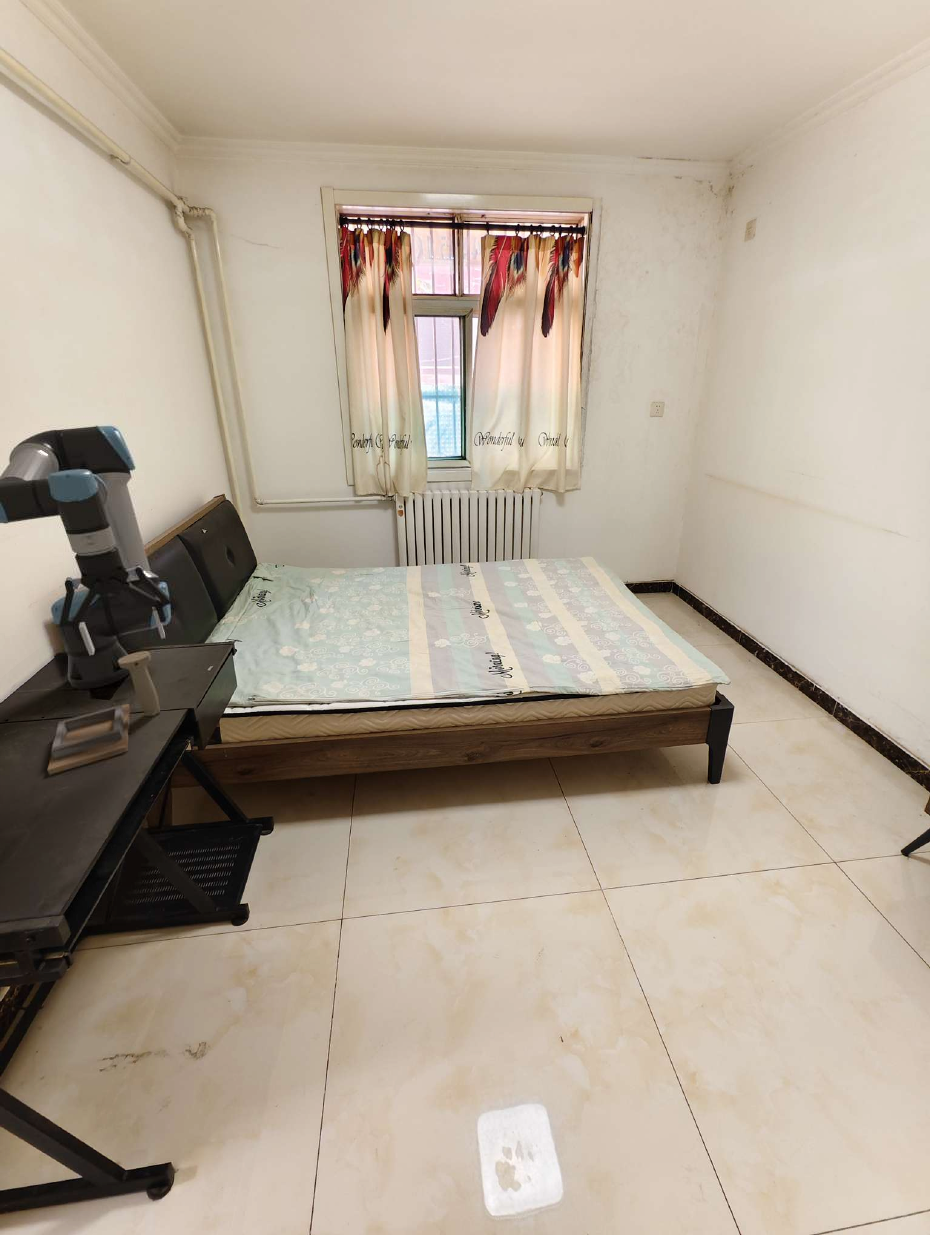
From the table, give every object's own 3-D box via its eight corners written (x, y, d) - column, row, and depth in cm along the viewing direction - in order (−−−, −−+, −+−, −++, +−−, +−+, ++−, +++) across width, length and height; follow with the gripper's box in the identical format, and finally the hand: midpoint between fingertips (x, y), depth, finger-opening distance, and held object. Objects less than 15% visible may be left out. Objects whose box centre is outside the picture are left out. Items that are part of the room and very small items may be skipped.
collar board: (62, 726, 129) (57, 714, 128) (130, 707, 135) (125, 696, 134) (49, 774, 113) (43, 762, 111) (127, 751, 118) (122, 739, 117)
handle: (136, 713, 132) (116, 658, 126) (166, 704, 135) (148, 649, 129) (139, 722, 128) (119, 665, 122) (169, 712, 132) (151, 656, 126)
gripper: (17, 568, 103) (58, 667, 112) (165, 542, 113) (192, 635, 122) (23, 557, 109) (62, 652, 118) (163, 534, 120) (189, 623, 128)
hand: (128, 644), depth 120 cm, fingers open, 13 cm apart
